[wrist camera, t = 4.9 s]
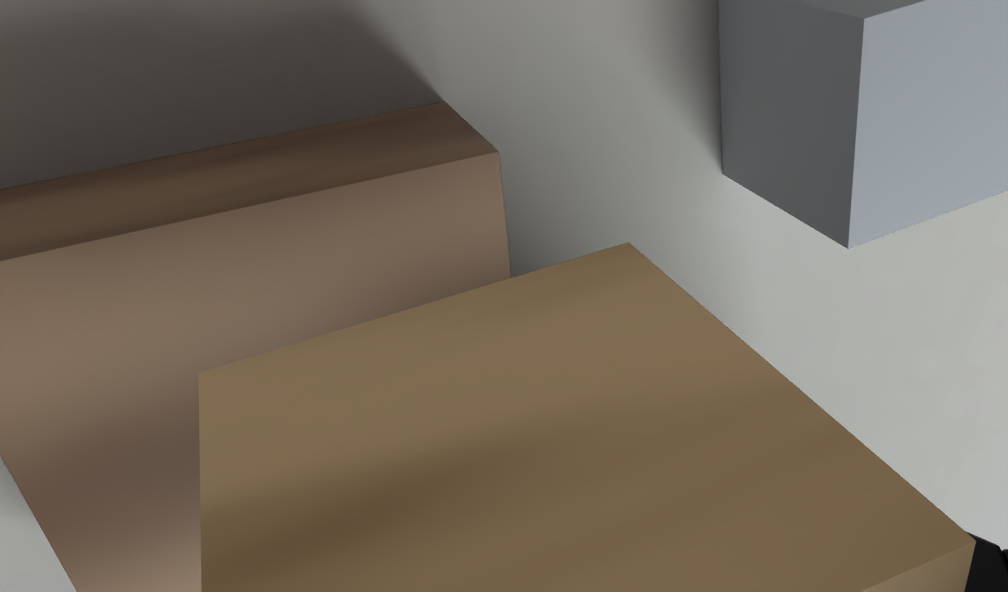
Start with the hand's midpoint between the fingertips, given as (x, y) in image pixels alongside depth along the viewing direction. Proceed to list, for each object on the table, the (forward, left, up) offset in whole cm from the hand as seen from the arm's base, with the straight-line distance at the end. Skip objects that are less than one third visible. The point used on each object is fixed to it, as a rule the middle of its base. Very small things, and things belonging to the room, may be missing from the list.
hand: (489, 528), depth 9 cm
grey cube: (0, -12, -11) cm, 17 cm away
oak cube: (0, 0, -1) cm, 1 cm away
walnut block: (-3, +3, -11) cm, 12 cm away
